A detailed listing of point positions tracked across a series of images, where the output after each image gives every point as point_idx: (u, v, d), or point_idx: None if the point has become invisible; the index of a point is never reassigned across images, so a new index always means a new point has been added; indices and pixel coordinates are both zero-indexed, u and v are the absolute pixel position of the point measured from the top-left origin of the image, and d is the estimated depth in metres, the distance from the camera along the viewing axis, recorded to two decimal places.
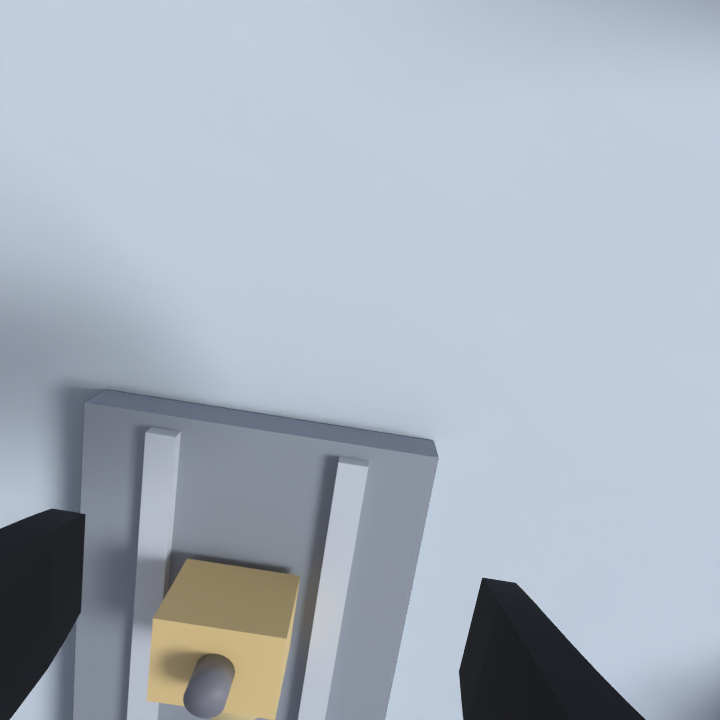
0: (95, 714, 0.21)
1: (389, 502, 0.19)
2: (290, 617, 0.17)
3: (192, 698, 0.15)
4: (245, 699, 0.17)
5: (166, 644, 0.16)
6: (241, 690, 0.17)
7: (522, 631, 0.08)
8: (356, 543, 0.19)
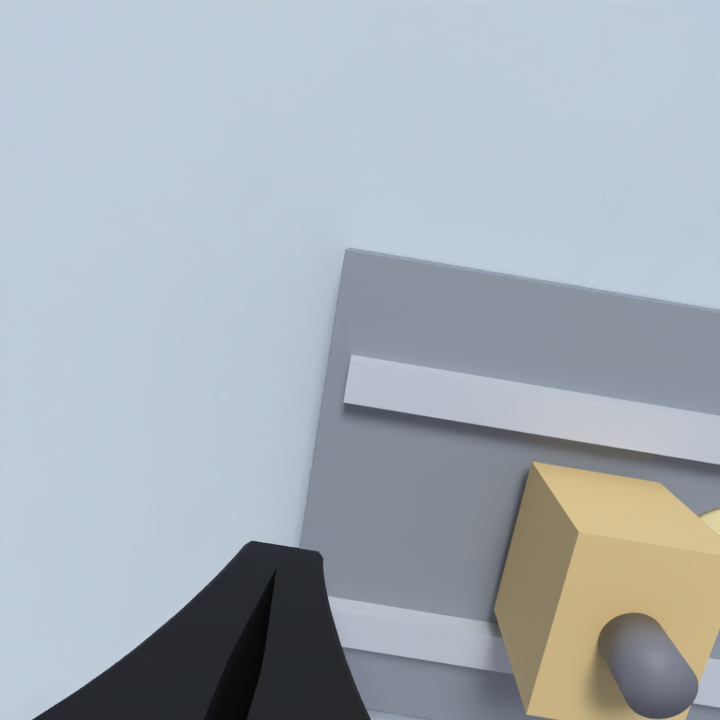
0: None
1: (419, 324, 0.12)
2: (562, 507, 0.10)
3: (652, 706, 0.09)
4: (695, 601, 0.10)
5: (574, 702, 0.10)
6: (676, 605, 0.10)
7: (280, 593, 0.08)
8: (487, 374, 0.12)
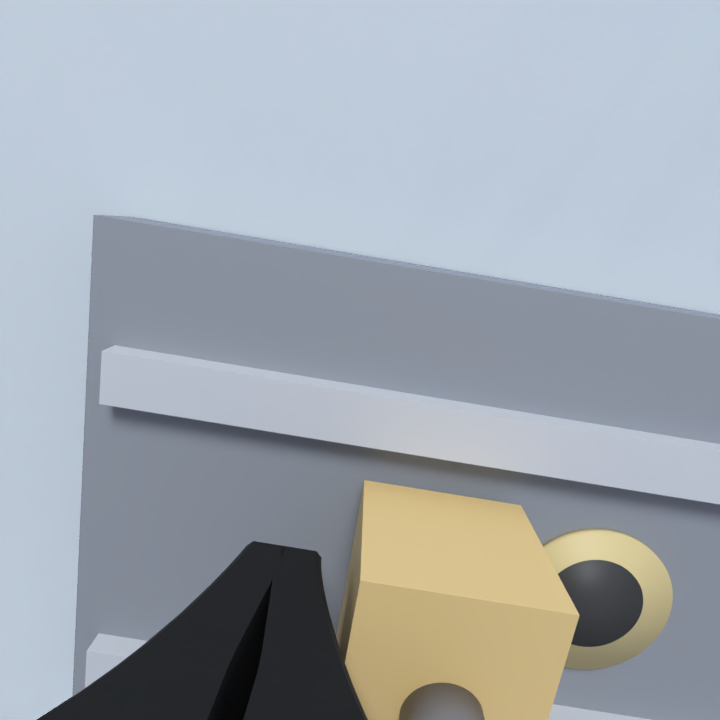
0: None
1: (193, 307, 0.10)
2: (363, 543, 0.08)
3: None
4: (518, 668, 0.08)
5: None
6: (495, 673, 0.08)
7: (278, 592, 0.08)
8: (282, 369, 0.10)
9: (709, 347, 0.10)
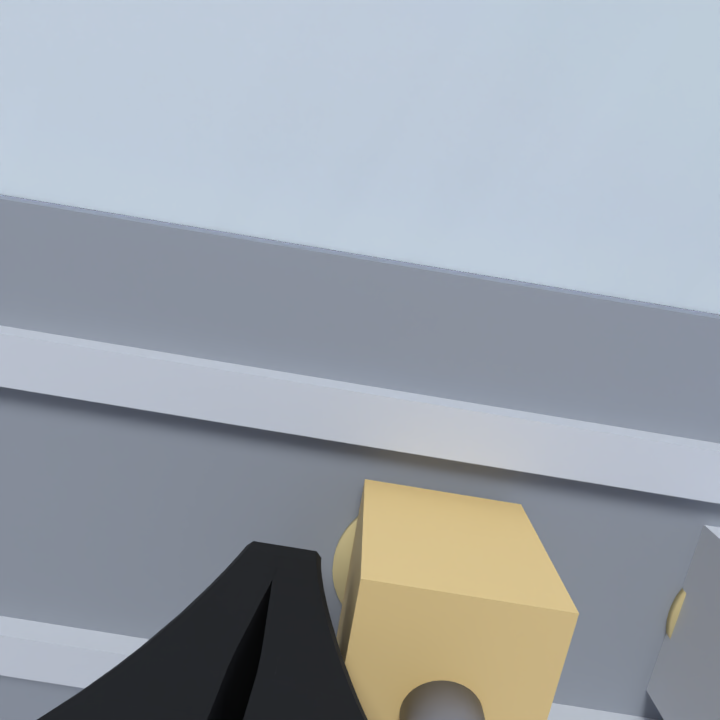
0: None
1: None
2: (363, 542, 0.08)
3: None
4: (518, 666, 0.08)
5: None
6: (495, 671, 0.08)
7: (278, 593, 0.08)
8: (86, 336, 0.10)
9: (507, 313, 0.10)
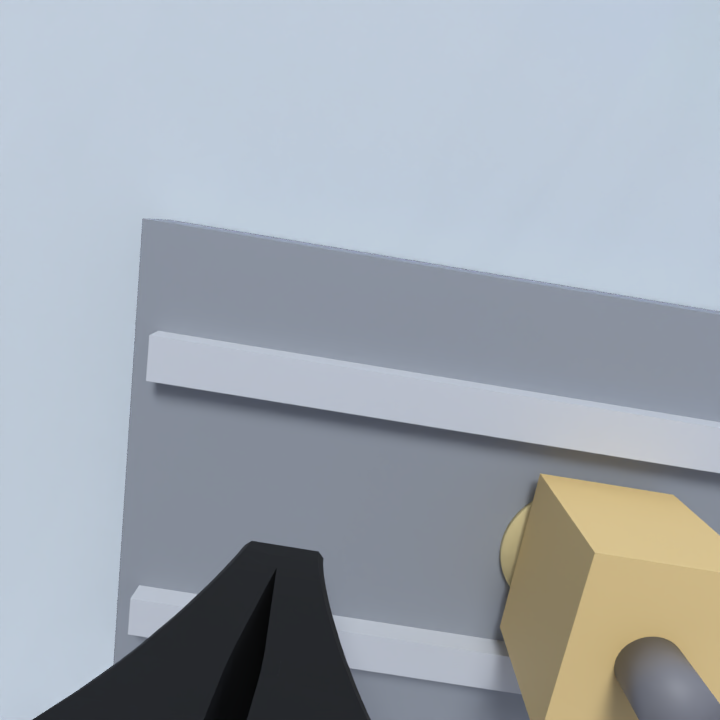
0: None
1: (227, 297, 0.12)
2: (575, 524, 0.10)
3: None
4: (717, 624, 0.09)
5: None
6: (697, 629, 0.09)
7: (280, 593, 0.08)
8: (303, 351, 0.12)
9: (667, 331, 0.12)
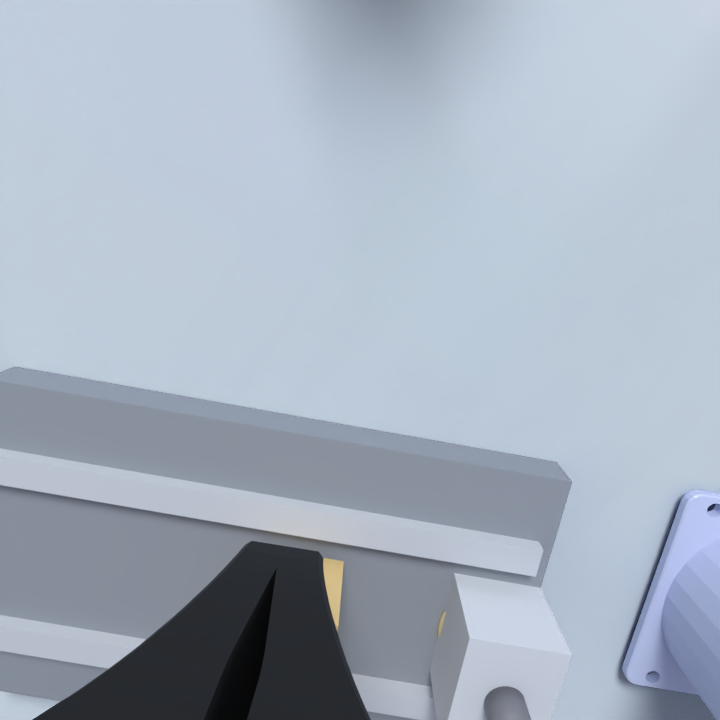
0: None
1: (42, 428, 0.17)
2: None
3: None
4: None
5: None
6: None
7: (280, 593, 0.08)
8: (95, 462, 0.18)
9: (333, 455, 0.17)
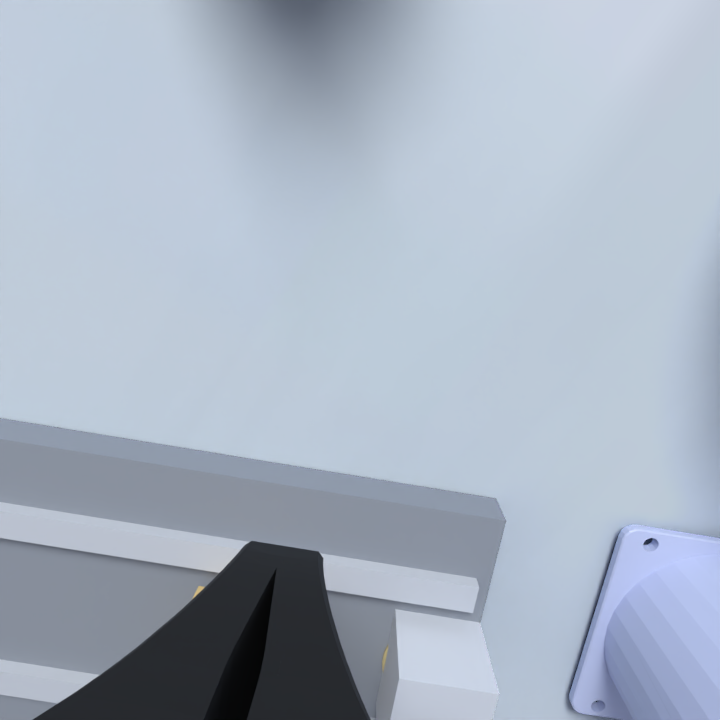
0: None
1: None
2: None
3: None
4: None
5: None
6: None
7: (280, 593, 0.08)
8: (43, 507, 0.18)
9: (273, 497, 0.18)
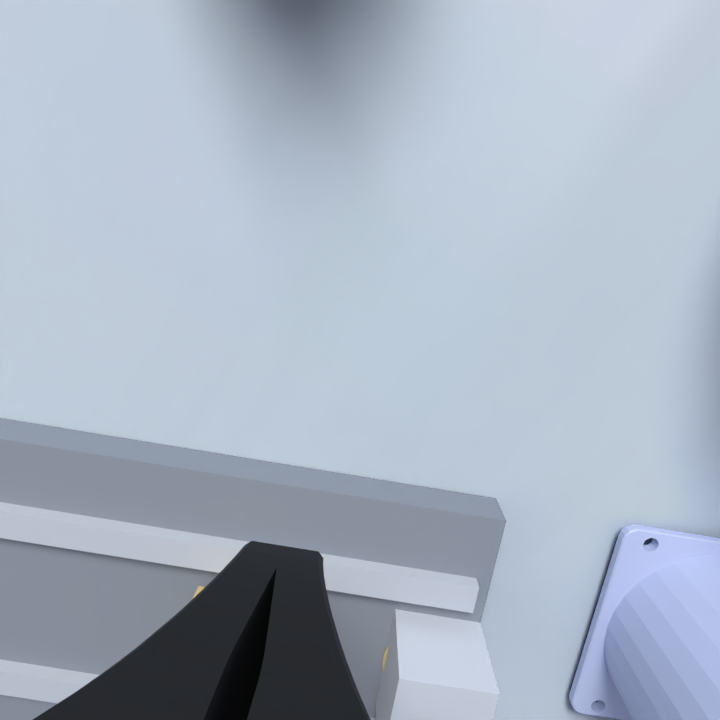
0: None
1: None
2: None
3: None
4: None
5: None
6: None
7: (280, 593, 0.08)
8: (43, 507, 0.18)
9: (273, 497, 0.18)
